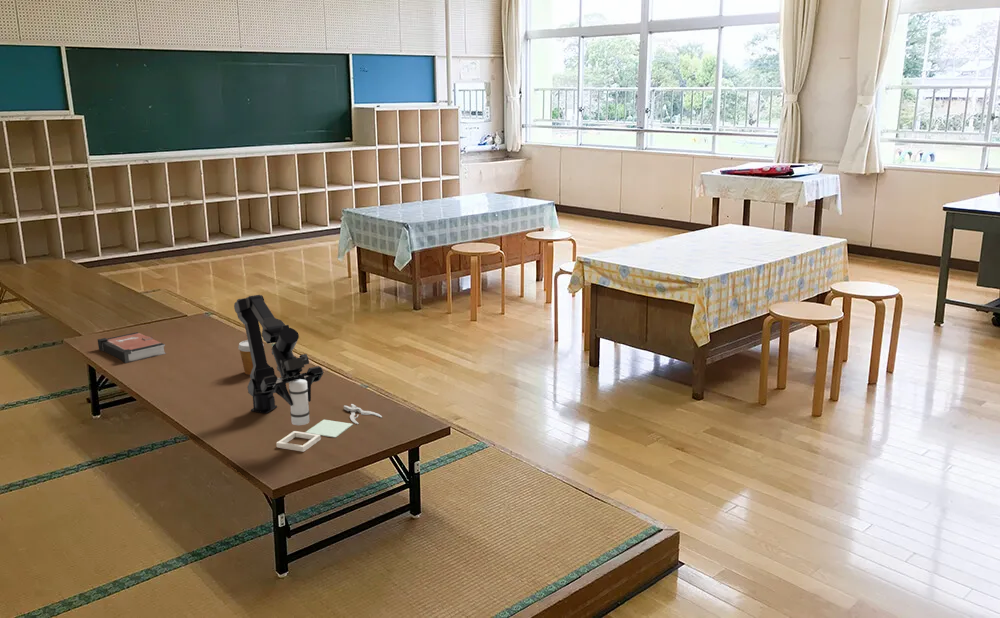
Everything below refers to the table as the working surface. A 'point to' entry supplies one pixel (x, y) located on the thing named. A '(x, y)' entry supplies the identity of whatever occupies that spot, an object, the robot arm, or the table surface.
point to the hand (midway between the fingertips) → (301, 403)
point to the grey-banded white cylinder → (299, 402)
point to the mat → (329, 428)
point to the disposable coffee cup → (246, 356)
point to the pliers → (357, 409)
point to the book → (131, 347)
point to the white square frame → (313, 437)
